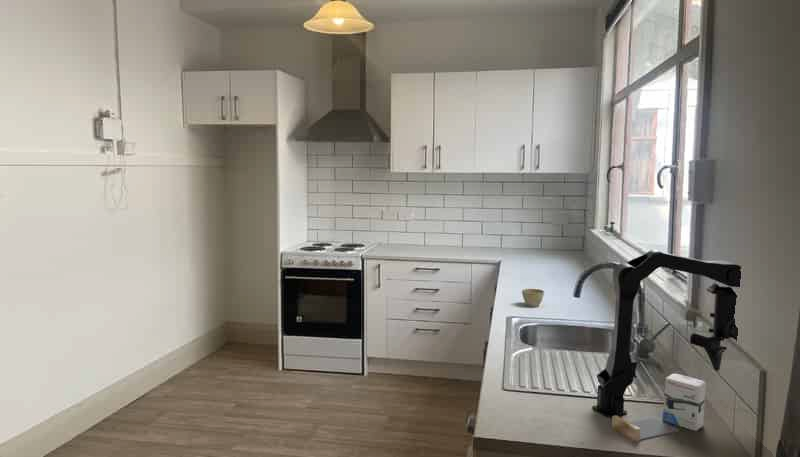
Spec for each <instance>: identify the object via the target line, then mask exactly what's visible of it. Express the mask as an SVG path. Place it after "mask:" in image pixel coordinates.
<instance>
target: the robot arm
mask: <svg viewBox="0 0 800 457" xmlns="http://www.w3.org/2000/svg"><path fill="white" fill-rule="evenodd" d="M741 267H742V266H741V265H739V264H736V263H734V262H731V261H728V260H714V259H713V260H703V259H698V258H697V259H696V258H693V257H686V256H682V255H679V254H673V253H668V252H664V251H661V250H657V249H651V250H649V251H648V252H645V253H644V254H642V255H639V256H638V257H634V258H633V259H630V260H629V261H627V262H621V263H619V264H616V266H614V268H613V270H612V282H613V288H614V292H615V299H616V300H615V310H614V326H613V337H612V349H611V351H610V353H609V355H608V358H607V361H606V364H605V368H604V369H603V370H601V371H600V372H599V373H598V374H596V378H597V381H598V384H599V385H597V397H596V398H597V399H596V400H597V401H596V402H597V403H596V405H593V406H592V407H591V409H593V410H595V411H597V412H599V413H600V414H602V415H604V416H606V417H607V418H608V417H609V418H612V417H613V416H616V415H617V416H621V415H626V414H628V411H627V410H625V407H624V406H625V405H624V404H625V398H624V395H625V392H626V391H627V388H628V387H629V386H630V385H632V384H633V382H634V378H635V379H637V374H636V370H637V365H638V362H637V361H636V359H635V357H633V356H632V355H631V352H630V351H631V340H632V338H631V337H632V325H633V315H634V314H633V313H634V302H635V299H636V297H637V295H638V293H639V290H640V286H641V283H642V281H643V280H645V279H646V278H648V277H649V276H650V275H651V274H653V273H654V272H655V271H656V270H657V269H659V268H665V269H669V270H675V271H678V272H682V273H683V272H684V273H689V274H692V275H697V276H702V277H705V278H708V279H710V280H714V281H716V282H718V283H721V284H723V285H725V286H720V285H719V284H718V283H715V282H714V283H713V284H711V285H710V286H709V287H707V288H706V292H708V293H710V294H713V295H714V304H713V305H714V306H713V311H712V312H709V317H710V318H712V319H713V320H712V327H709V328H708V332H706V331H699V332H697V331H696V332H693V333H691V334H690V336H689V344H691V345H694V346H698V347H700V348H702V349H703V348H704V350H705V352H706V354H707V356H708V359H709V361H710V363H711V365H712V367H713V370H715V371H717V372H719V371H720V368H721V364H722V358H723V352H724V351H725V350H726V349H727V348H726V347H723V342H724V340H727V339H729V338H731V337H732V338H733V339H735V340H736V341H737V336H738V328H737V327H736V325H735V319H734V314H735V305H736V298H737V295H736V293H735V292H734V291H733V290H734V288H737V287H740V279H741V271H740V269H741Z"/></svg>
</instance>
